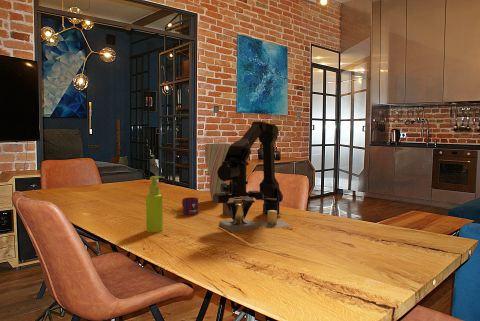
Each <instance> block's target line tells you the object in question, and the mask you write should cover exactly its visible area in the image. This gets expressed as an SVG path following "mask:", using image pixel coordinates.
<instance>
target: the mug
mask: <svg viewBox="0 0 480 321" xmlns="http://www.w3.org/2000/svg"><path fill="white" fill-rule="evenodd" d="M181 204H182V215H184V216H197V215H199V198H198V197H194V196H193V197H189V196H188V197H183V198H182V200H181Z"/></svg>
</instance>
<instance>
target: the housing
mask: <svg viewBox="0 0 480 321" xmlns="http://www.w3.org/2000/svg"><path fill="white" fill-rule="evenodd" d="M233 202H234V203H236V204H243V203H242V199H234V201H233ZM222 215H224V216H226V217H231V214H230V211H229V209H228V207H227V205H226V204H225V203H222Z"/></svg>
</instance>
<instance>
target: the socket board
mask: <svg viewBox="0 0 480 321" xmlns="http://www.w3.org/2000/svg"><path fill="white" fill-rule="evenodd" d="M218 225H219V226H218V227H220V228H221V229H223V230H225V231H227V232H228V233H230V234H232V232H243V231H249V230H256V229H259V225H258V224H256V223H254V221H251V220H249V219H247V218H245V219H244V224H233V220H232V219H228V220H219V221H218Z"/></svg>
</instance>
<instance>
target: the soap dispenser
mask: <svg viewBox="0 0 480 321" xmlns="http://www.w3.org/2000/svg"><path fill="white" fill-rule="evenodd" d="M160 178H162V176H161V175H153V176H150V177H149V180H151V184H149V187H148V188H149V193H148V194H146V195H145V213H146V214H145V217H146V220H145V221H146V222H145V223H146V225H145V226H146V231H145V232H147V233H153V234H154V233H160V232H162V231H163V230H164V226H163V224H164V222H163V220H164V219H163V217H164V215H163V211H164V210H163V209H164V206H163V205H164V204H163V194H160V186H159V185H158V184H157V179H160Z"/></svg>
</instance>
